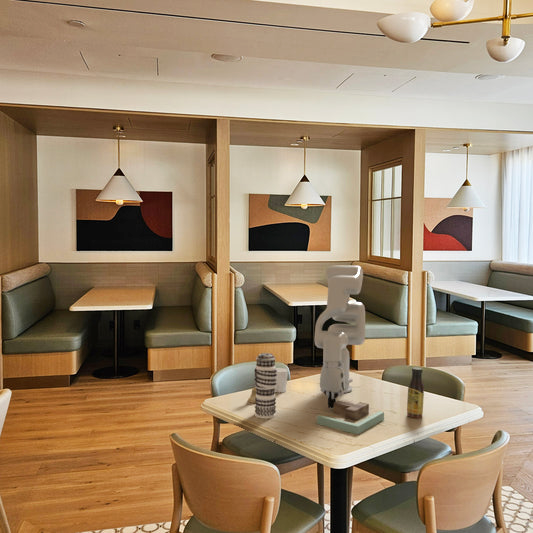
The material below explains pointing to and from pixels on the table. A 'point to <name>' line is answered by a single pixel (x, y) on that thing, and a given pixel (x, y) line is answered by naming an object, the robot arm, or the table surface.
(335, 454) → the table surface
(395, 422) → the table surface
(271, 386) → the patterned stacked cylinder
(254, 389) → the hand bell
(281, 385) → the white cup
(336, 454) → the table surface
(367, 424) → the corner fence
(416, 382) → the sauce bottle
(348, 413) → the t block
